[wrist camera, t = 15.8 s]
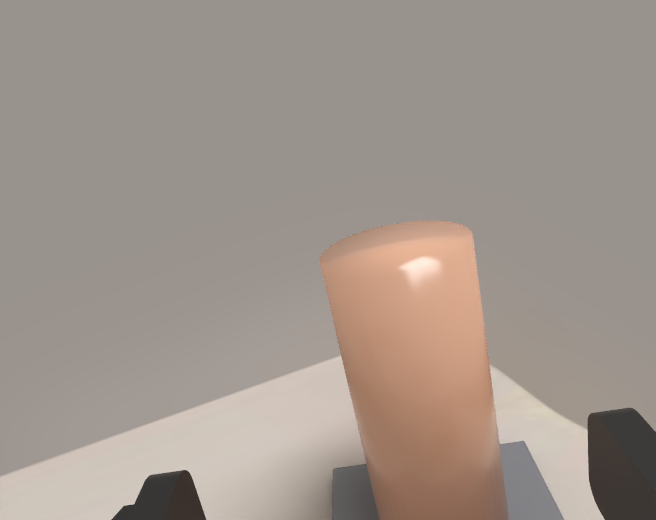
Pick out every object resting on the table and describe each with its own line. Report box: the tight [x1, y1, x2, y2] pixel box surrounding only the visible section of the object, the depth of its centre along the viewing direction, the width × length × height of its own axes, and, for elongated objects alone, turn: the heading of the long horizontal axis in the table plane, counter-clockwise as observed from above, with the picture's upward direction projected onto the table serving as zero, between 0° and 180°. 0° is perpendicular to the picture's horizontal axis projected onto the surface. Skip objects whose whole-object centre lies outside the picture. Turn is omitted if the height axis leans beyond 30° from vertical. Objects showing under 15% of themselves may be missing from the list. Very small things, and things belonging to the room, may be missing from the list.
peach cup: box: [320, 221, 509, 520], centre depth 26 cm, size 9×6×16 cm
